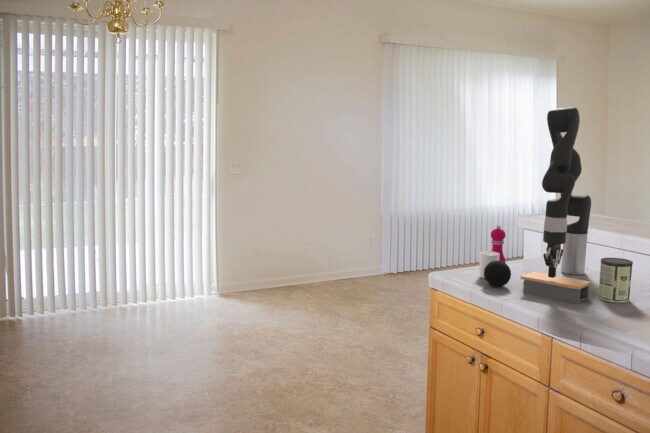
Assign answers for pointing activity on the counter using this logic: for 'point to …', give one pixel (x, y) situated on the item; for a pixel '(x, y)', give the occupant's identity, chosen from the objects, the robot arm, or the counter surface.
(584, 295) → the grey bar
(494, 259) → the white cup
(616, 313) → the counter surface
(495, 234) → the pepper mill
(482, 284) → the counter surface
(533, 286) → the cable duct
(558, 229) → the robot arm
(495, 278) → the speaker
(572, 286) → the brown flat rectangular panel
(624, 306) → the counter surface
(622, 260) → the coffee can
